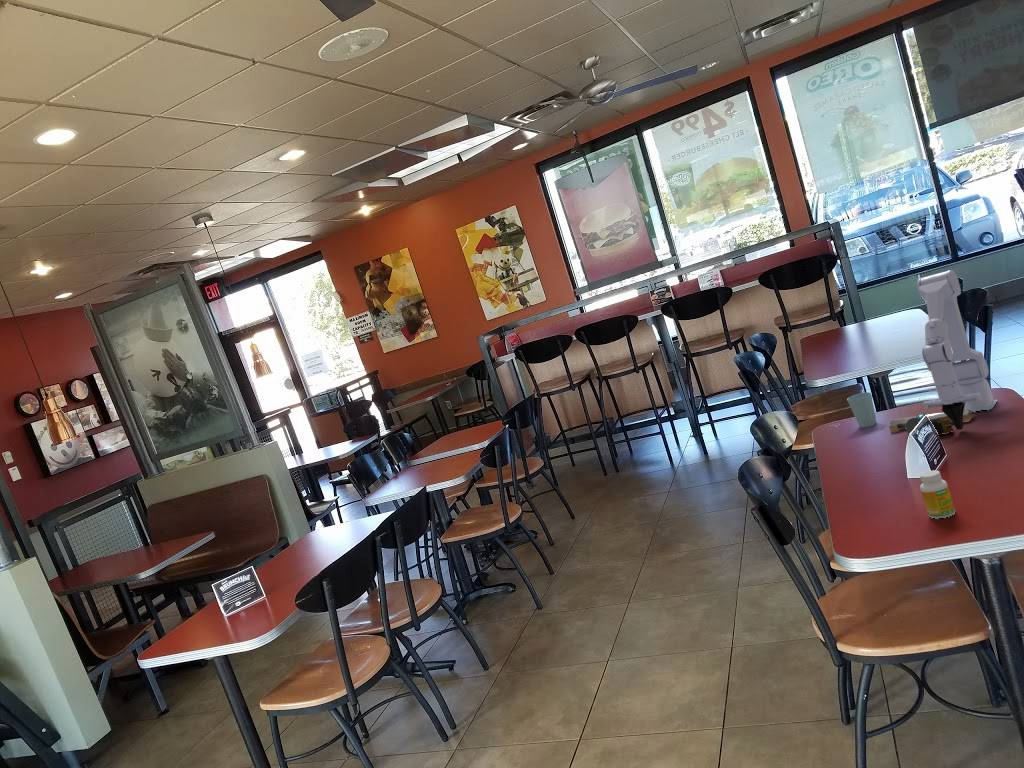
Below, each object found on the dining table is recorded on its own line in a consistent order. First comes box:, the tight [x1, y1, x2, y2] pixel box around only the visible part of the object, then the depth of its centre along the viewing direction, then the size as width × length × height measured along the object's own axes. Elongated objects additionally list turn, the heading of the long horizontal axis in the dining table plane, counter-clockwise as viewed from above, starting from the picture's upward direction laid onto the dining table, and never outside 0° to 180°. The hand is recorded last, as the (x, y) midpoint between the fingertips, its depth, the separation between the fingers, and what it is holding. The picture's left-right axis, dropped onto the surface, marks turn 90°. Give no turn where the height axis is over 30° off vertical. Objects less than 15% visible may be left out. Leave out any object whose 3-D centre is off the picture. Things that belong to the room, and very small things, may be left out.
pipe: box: [888, 408, 974, 434], centre depth 236 cm, size 22×5×4 cm, turn 47°
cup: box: [846, 392, 877, 429], centre depth 260 cm, size 8×8×10 cm
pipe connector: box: [905, 416, 954, 436], centre depth 225 cm, size 12×5×15 cm
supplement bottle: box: [919, 470, 957, 520], centre depth 169 cm, size 5×5×10 cm
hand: (960, 428), depth 220 cm, fingers closed
